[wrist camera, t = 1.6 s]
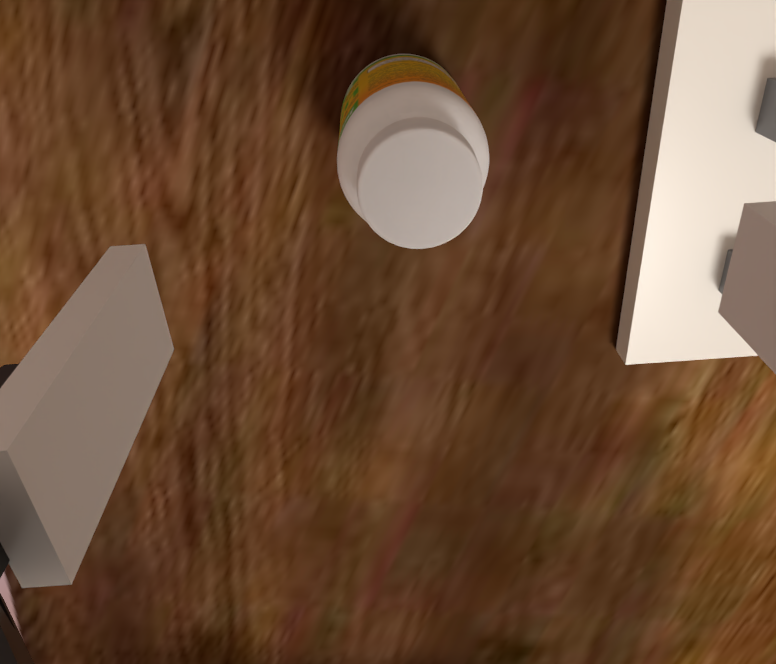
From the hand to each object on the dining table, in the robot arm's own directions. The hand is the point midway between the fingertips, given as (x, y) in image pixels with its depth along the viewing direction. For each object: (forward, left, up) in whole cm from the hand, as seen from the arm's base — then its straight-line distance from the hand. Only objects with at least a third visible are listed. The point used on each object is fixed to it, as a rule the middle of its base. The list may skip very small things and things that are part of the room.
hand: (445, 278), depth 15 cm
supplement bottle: (0, 0, -16) cm, 16 cm away
